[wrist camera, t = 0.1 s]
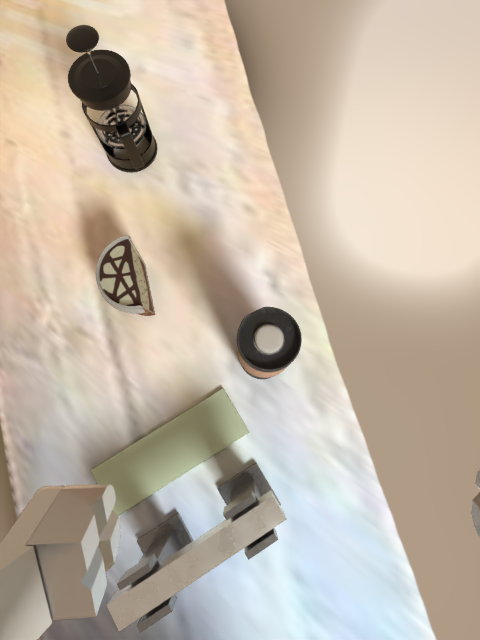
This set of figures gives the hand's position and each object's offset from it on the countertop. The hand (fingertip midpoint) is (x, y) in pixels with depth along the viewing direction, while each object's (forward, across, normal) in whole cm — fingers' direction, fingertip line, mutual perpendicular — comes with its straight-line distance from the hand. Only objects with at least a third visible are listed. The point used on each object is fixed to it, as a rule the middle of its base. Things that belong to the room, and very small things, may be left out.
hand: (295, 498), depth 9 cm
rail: (+30, -7, -34) cm, 45 cm away
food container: (+58, -19, -7) cm, 62 cm away
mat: (+45, -13, -30) cm, 56 cm away
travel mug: (+52, +2, -18) cm, 55 cm away
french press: (+71, -20, +17) cm, 75 cm away
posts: (+40, -7, -40) cm, 57 cm away
